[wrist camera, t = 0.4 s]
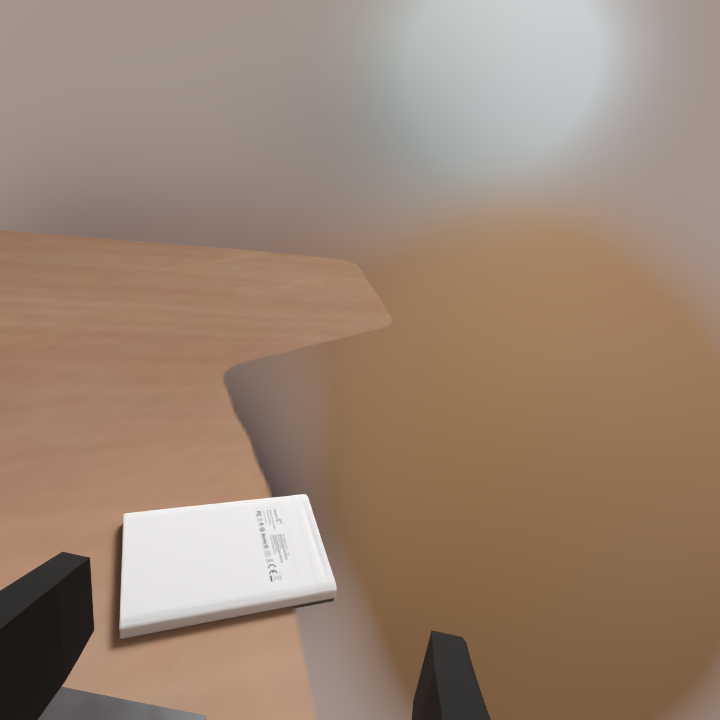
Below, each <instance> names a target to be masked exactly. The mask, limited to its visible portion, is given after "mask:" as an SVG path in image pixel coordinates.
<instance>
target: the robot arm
mask: <svg viewBox="0 0 720 720" xmlns="http://www.w3.org/2000/svg"><path fill="white" fill-rule="evenodd" d="M93 631H94V619H93V603H92V586H91V569H90V558H89V557H84V556H79V555H75V554H70V553H65V552H61V553H60V554H58V555H57V556H55V557H53V558H52V559H50V560H48V561H47V562H45V563H44V564H42V565H40V566H39V567H37V568H36V569H34V570H32V571H31V572H29V573H28V574H26V575H24V576H23V577H21V578H20V579H18V580H17V581H15V582H13V583H12V584H10V585H9V586H7V587H5V588H4V589H2V590H1V591H0V720H38V719H39V717H40V716H41V715H42V713H43V712H44V710H45V709H46V707H47V706H48V705H49V703H50V702H51V700H52V699H53V698H54V696H55V695H56V693H57V692H58V691H59V689H60V688H61V686H62V685H63V683H64V682H65V680H66V679H67V677H68V675H69V674H70V672H71V670H72V669H73V667H74V665H75V663H76V662H77V660H78V658H79V657H80V655H81V653H82V651H83V649H84V647H85V646H86V644H87V642H88V640H89V638H90V637H91V635H92V633H93ZM412 720H491V719H490V717H489V714H488V711H487V709H486V705H485V703H484V700H483V697H482V694H481V691H480V688H479V685H478V682H477V679H476V676H475V672H474V669H473V666H472V662H471V659H470V655H469V652H468V648H467V644H466V642H465V640H464V639H463V638H462V637H459V636H455V635H450V634H445V633H441V632H436V631H431V635H430V639H429V643H428V646H427V651H426V654H425V658H424V662H423V666H422V670H421V674H420V678H419V681H418V686H417V689H416V693H415V697H414V701H413V713H412Z"/></svg>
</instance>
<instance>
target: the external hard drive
mask: <svg viewBox="0 0 720 720" xmlns="http://www.w3.org/2000/svg"><path fill="white" fill-rule="evenodd" d="M336 592H337V588H336V583H335V580H334V577H333V574H332V571H331V568H330V565H329V562H328V559H327V555H326V552H325V549H324V546H323V543H322V540H321V537H320V534H319V530H318V527H317V524H316V521H315V518H314V515H313V512H312V508H311V505H310V502H309V499H308V497H307V495H306V494H303V495H294V496H286V497H275V498H265V499H255V500H246V501H237V502H228V503H218V504H209V505H199V506H189V507H179V508H171V509H162V510H153V511H144V512H135V513H126V514H124V516H123V542H122V570H121V597H120V624H119V630H120V639H124V638H129V637H134V636H139V635H144V634H150V633H155V632H160V631H165V630H170V629H175V628H181V627H186V626H191V625H196V624H202V623H207V622H212V621H217V620H222V619H227V618H233V617H238V616H243V615H248V614H254V613H259V612H264V611H270V610H275V609H280V608H285V607H291V606H295V608H300V607H305V606H310V605H316V604H322V603H326V602H332V601H334V598H335V595H336Z"/></svg>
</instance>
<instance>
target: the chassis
mask: <svg viewBox="0 0 720 720" xmlns="http://www.w3.org/2000/svg"><path fill="white" fill-rule="evenodd" d="M38 720H206V716H204V715H199V714H194V713H189V712H184V711H179V710H174V709H169V708H164V707H159V706H154V705H149V704H144V703H139V702H134V701H129V700H124V699H119V698H114V697H109V696H104V695H99V694H94V693H89V692H84V691H79V690H74V689H69V688H65V687H61V688H60V689H59V691H58V692H57V693H56V695H55V696H54V698H53V699H52V700H51V702H50V703H49V705H48V706H47V707H46V709H45V710H44V712H43V713H42V715H41V716H40V717H39V719H38Z"/></svg>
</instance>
